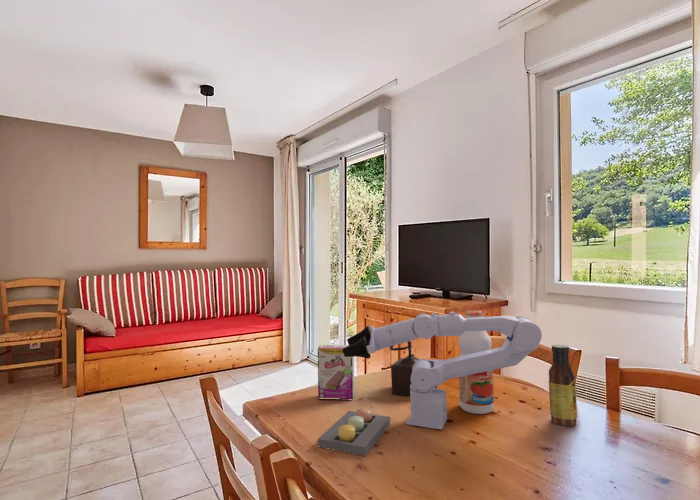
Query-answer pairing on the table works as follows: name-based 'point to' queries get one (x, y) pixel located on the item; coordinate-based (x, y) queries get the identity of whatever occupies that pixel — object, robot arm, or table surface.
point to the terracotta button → (365, 414)
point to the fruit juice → (480, 385)
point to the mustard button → (346, 433)
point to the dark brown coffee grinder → (402, 372)
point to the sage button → (356, 423)
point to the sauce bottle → (562, 388)
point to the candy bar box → (335, 373)
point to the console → (362, 440)
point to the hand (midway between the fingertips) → (345, 347)
